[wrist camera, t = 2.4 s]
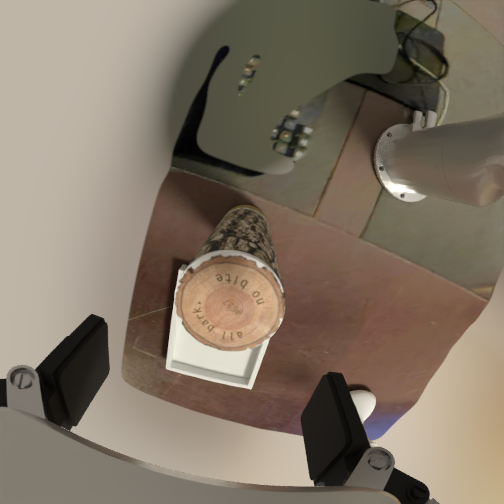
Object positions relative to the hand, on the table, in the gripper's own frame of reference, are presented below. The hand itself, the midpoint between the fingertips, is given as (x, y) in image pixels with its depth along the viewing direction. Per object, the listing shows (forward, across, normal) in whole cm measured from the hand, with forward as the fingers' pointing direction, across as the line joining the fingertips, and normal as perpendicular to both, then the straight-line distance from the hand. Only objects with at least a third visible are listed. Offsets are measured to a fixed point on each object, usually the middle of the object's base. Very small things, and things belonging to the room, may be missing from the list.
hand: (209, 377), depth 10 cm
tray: (+31, 0, +18) cm, 36 cm away
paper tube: (+32, 0, 0) cm, 32 cm away
